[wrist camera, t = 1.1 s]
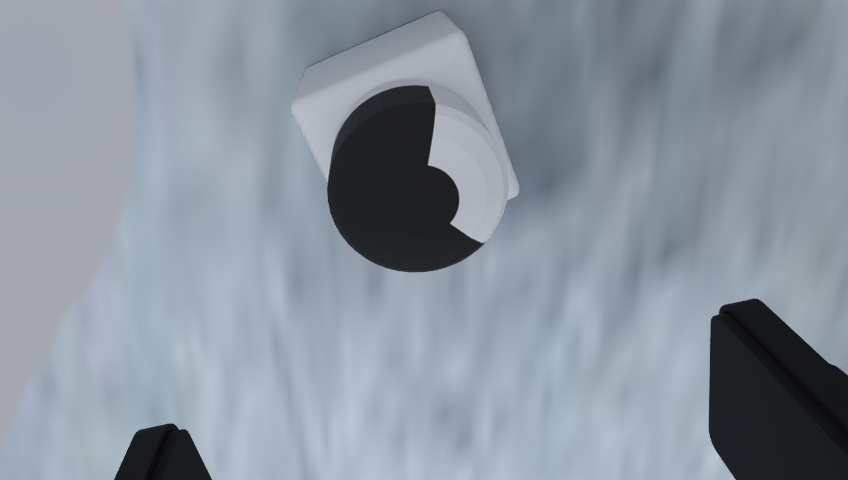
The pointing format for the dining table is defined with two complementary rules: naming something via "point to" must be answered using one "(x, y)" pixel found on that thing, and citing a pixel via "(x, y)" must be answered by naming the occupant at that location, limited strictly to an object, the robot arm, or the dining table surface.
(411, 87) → the white capped block
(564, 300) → the dining table surface
